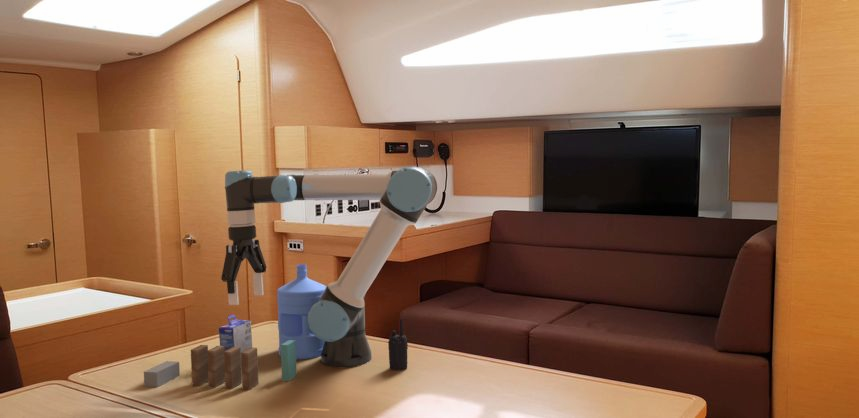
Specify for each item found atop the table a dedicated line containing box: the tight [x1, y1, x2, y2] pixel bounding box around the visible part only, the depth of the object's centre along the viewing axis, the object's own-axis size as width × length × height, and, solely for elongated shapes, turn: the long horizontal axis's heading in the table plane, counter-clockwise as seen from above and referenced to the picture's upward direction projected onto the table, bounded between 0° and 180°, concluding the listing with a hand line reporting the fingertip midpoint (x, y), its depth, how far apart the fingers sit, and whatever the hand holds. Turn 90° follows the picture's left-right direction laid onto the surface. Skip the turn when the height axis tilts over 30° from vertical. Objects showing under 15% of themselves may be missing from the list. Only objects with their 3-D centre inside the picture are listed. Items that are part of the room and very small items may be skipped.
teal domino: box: [280, 340, 298, 382], centre depth 183 cm, size 2×5×10 cm, turn 166°
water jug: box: [276, 264, 327, 360], centre depth 207 cm, size 16×16×28 cm
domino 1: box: [190, 344, 209, 388], centre depth 180 cm, size 2×5×10 cm, turn 166°
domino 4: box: [241, 347, 259, 391], centre depth 176 cm, size 2×5×10 cm, turn 166°
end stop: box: [143, 360, 181, 388], centre depth 183 cm, size 4×10×4 cm, turn 166°
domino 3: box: [224, 347, 242, 390], centre depth 178 cm, size 2×5×10 cm, turn 166°
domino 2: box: [207, 345, 225, 389], centre depth 179 cm, size 2×5×10 cm, turn 166°
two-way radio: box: [388, 317, 408, 371], centre depth 188 cm, size 6×4×15 cm
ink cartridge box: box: [218, 314, 253, 352], centre depth 198 cm, size 10×6×14 cm, turn 164°
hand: (246, 299), depth 187 cm, fingers open, 13 cm apart
